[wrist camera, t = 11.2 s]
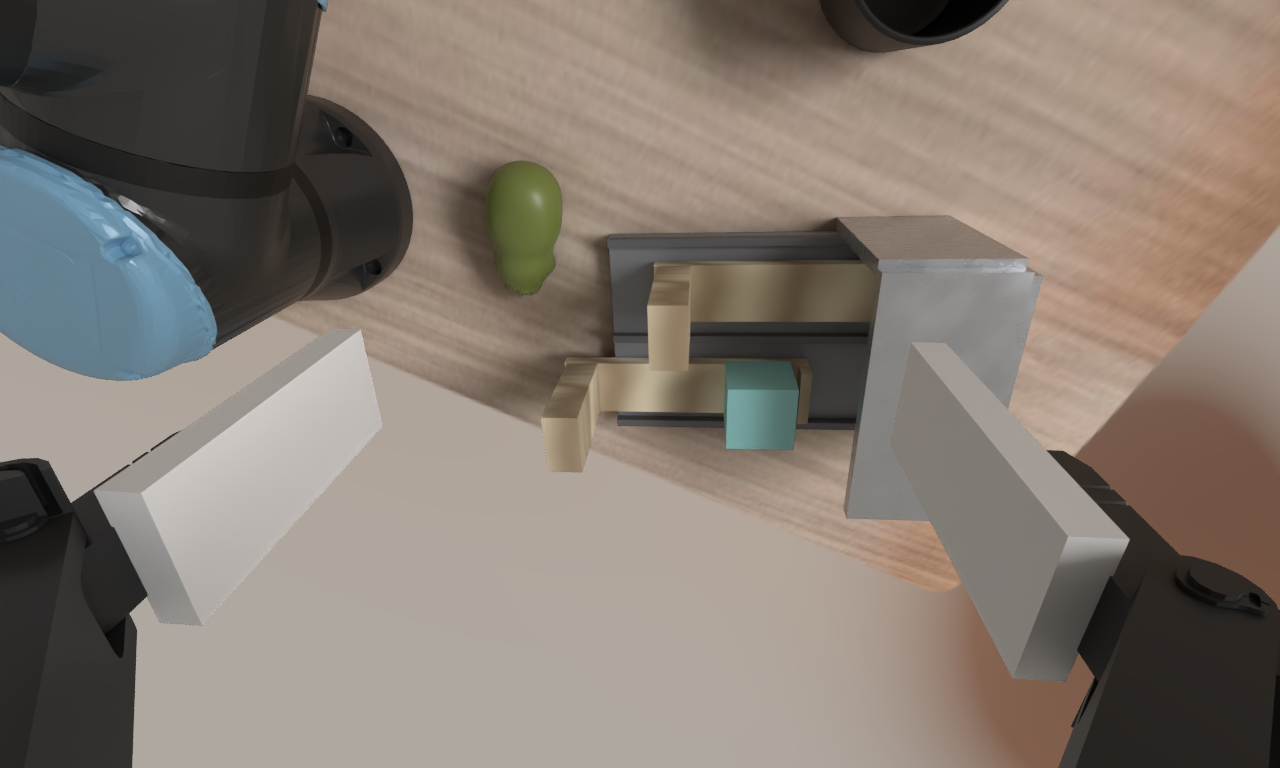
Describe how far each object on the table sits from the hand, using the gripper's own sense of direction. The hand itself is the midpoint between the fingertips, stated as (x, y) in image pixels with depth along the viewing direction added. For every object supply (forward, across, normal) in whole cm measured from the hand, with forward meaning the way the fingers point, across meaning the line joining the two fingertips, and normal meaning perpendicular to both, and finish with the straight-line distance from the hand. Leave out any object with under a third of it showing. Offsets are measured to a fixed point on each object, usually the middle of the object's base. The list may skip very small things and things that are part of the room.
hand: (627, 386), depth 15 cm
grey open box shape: (+34, +17, -11) cm, 39 cm away
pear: (+34, -11, -4) cm, 36 cm away
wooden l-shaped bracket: (+32, +1, -16) cm, 36 cm away
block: (+31, +7, -16) cm, 36 cm away
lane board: (+34, +7, -12) cm, 37 cm away
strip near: (+32, +8, -8) cm, 34 cm away
